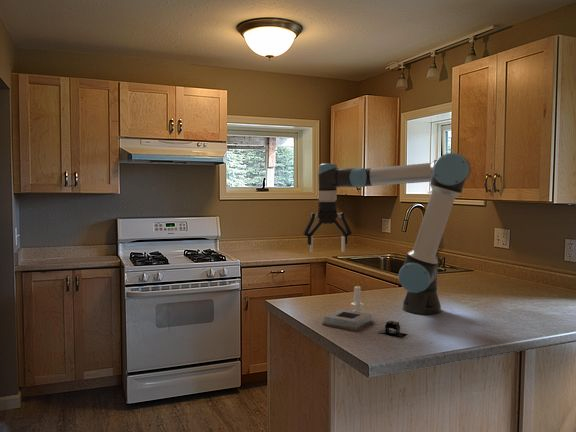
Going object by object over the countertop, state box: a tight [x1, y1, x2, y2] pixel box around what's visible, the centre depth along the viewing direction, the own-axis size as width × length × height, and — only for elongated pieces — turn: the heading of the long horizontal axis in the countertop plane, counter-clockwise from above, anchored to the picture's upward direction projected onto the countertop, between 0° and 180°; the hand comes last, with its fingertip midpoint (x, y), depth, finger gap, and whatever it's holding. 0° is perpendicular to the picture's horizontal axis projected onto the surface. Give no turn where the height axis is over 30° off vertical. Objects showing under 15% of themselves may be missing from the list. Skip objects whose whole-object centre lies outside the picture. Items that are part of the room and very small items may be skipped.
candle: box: [350, 285, 364, 313], centre depth 194 cm, size 5×5×12 cm
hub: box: [321, 308, 374, 332], centre depth 183 cm, size 14×14×3 cm
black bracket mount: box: [376, 320, 409, 339], centre depth 171 cm, size 12×7×5 cm, turn 55°
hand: (327, 252), depth 207 cm, fingers open, 13 cm apart
